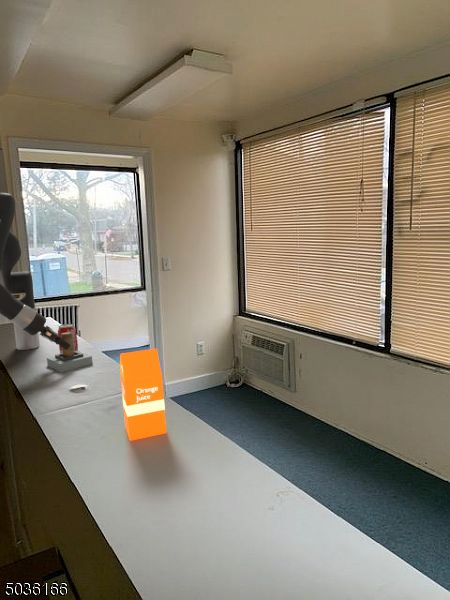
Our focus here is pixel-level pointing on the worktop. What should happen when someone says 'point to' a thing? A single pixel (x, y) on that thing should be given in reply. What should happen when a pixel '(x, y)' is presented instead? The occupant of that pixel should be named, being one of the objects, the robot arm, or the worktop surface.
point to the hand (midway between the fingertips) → (65, 345)
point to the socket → (69, 361)
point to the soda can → (68, 328)
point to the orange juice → (142, 394)
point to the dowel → (69, 339)
